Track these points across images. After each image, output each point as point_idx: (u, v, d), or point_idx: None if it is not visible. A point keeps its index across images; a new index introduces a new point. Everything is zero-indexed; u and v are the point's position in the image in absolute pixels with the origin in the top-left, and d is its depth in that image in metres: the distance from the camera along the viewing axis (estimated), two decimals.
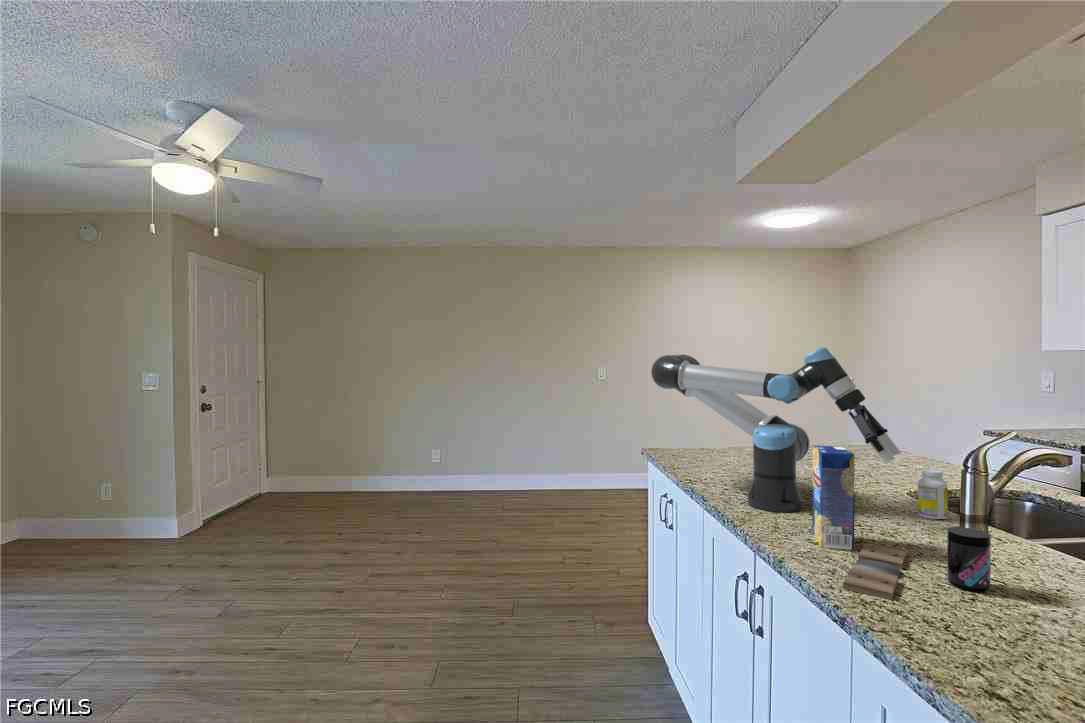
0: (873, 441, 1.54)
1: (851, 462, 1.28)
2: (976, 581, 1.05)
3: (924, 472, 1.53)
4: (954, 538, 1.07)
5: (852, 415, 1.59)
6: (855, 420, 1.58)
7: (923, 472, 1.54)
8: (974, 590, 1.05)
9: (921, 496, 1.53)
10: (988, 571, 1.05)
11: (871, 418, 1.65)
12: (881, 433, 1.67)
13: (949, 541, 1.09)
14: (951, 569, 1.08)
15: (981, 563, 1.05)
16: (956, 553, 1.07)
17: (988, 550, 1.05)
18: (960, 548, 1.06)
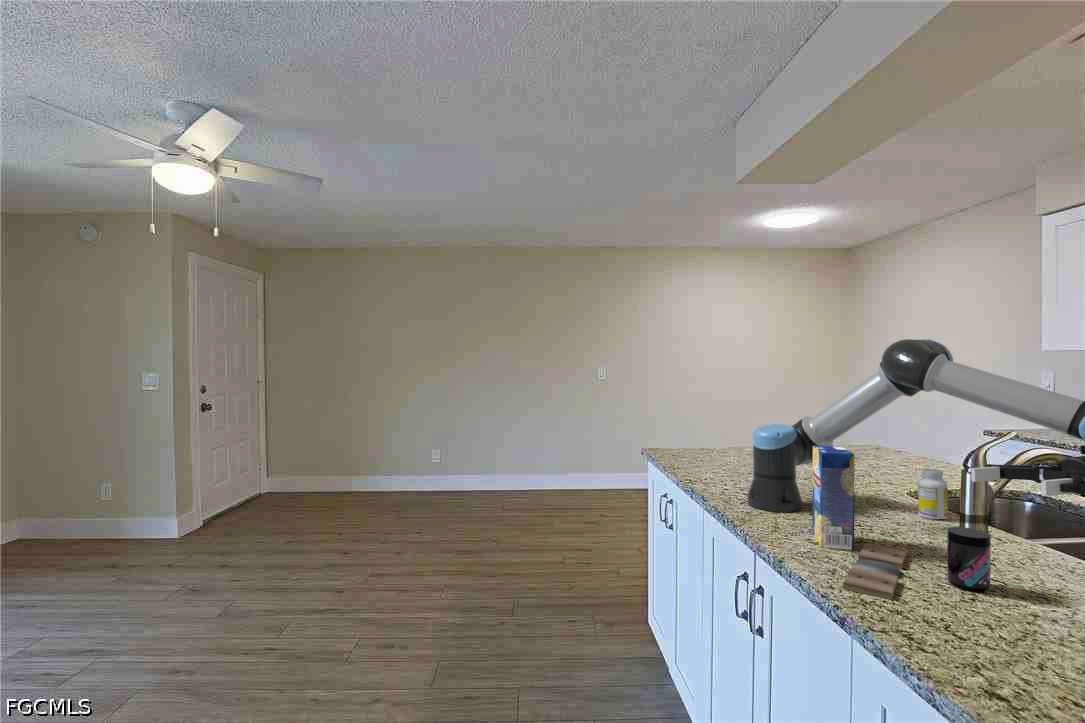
0: (1080, 486, 1.04)
1: (851, 462, 1.28)
2: (976, 581, 1.05)
3: (924, 472, 1.53)
4: (954, 538, 1.07)
5: None
6: None
7: (923, 472, 1.54)
8: (974, 590, 1.05)
9: (921, 496, 1.53)
10: (988, 571, 1.05)
11: (1038, 480, 1.16)
12: None
13: (949, 541, 1.09)
14: (951, 569, 1.08)
15: (981, 563, 1.05)
16: (956, 553, 1.07)
17: (988, 550, 1.05)
18: (960, 548, 1.06)
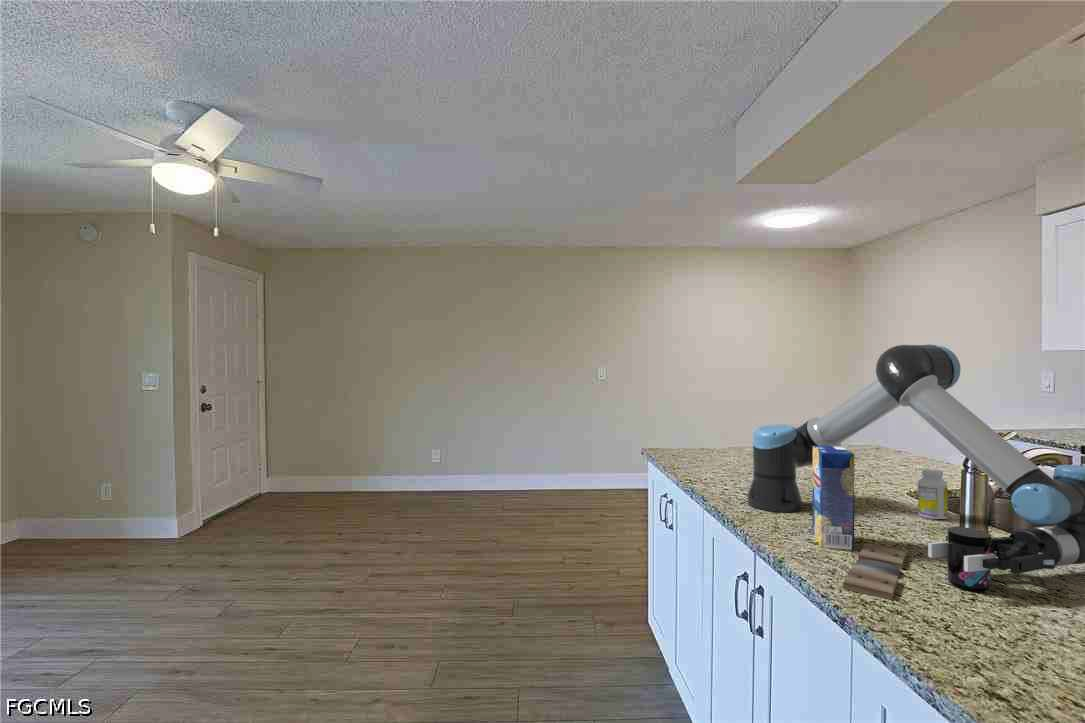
0: (1002, 563, 1.03)
1: (851, 462, 1.28)
2: (977, 580, 1.05)
3: (924, 472, 1.53)
4: (954, 537, 1.07)
5: (1048, 558, 1.04)
6: (1040, 558, 1.04)
7: (923, 472, 1.54)
8: (974, 590, 1.05)
9: (921, 496, 1.53)
10: (988, 571, 1.05)
11: None
12: None
13: (949, 541, 1.09)
14: (951, 569, 1.08)
15: None
16: (956, 553, 1.07)
17: (988, 550, 1.05)
18: (960, 548, 1.06)
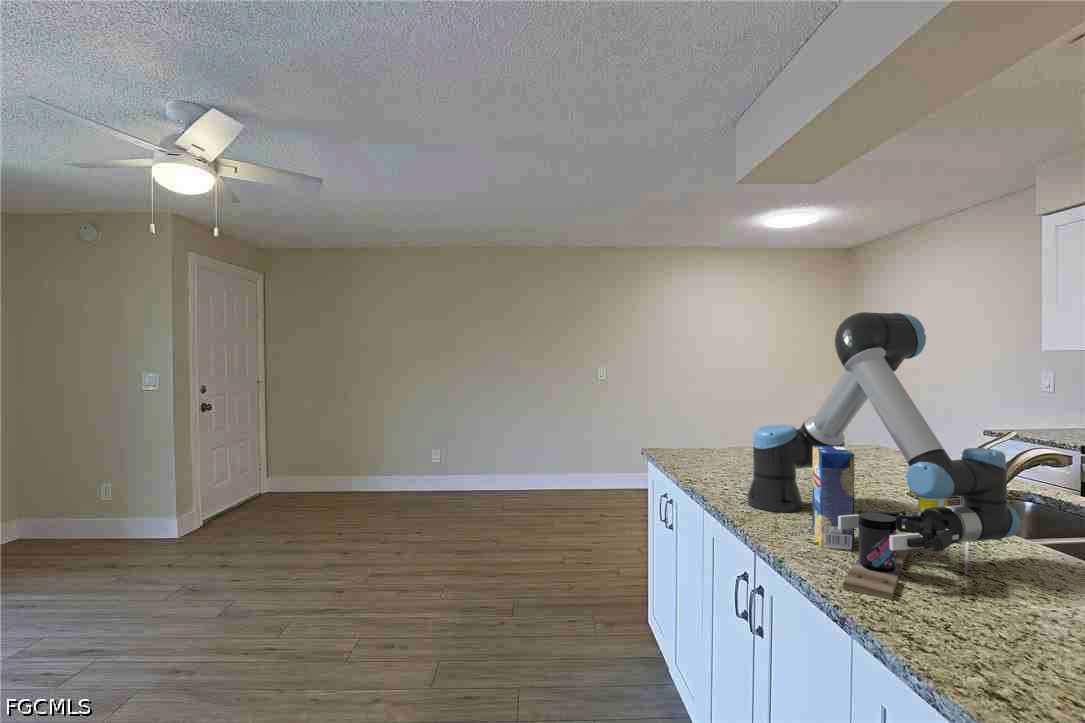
0: (926, 542, 1.08)
1: (851, 462, 1.28)
2: (882, 561, 1.12)
3: None
4: (863, 522, 1.15)
5: (955, 533, 1.11)
6: (950, 534, 1.11)
7: None
8: (880, 570, 1.13)
9: None
10: (893, 552, 1.13)
11: (900, 529, 1.20)
12: None
13: (859, 525, 1.16)
14: (861, 551, 1.16)
15: (886, 545, 1.12)
16: (865, 536, 1.15)
17: (893, 533, 1.13)
18: (868, 532, 1.14)
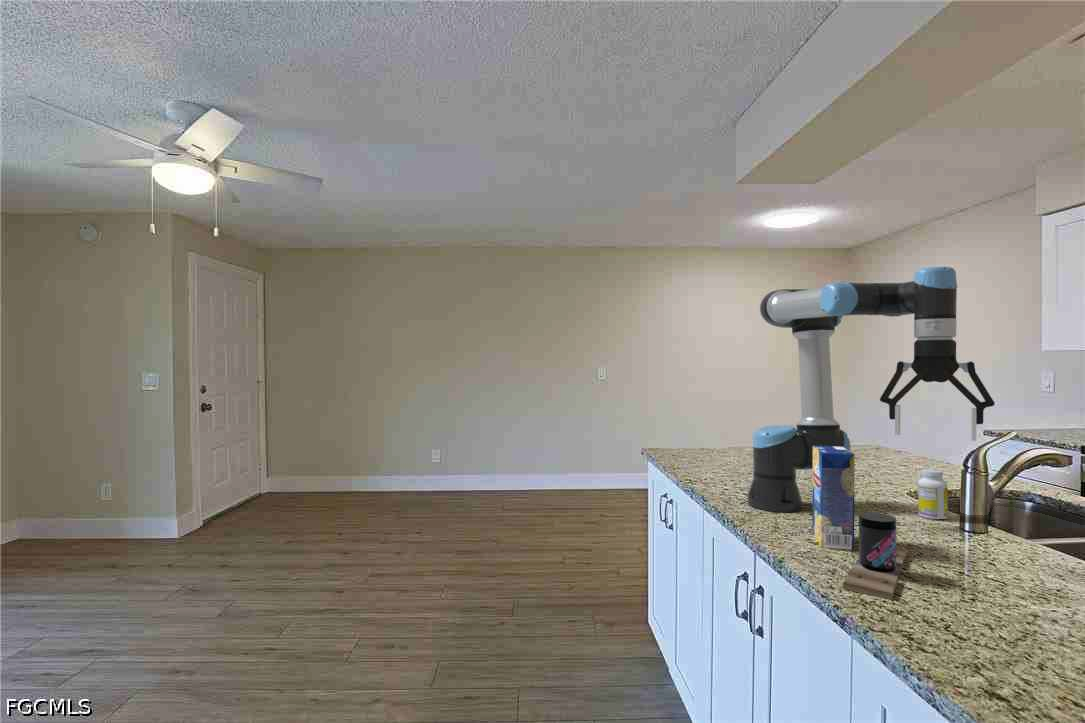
0: (889, 405, 1.27)
1: (851, 462, 1.28)
2: (882, 562, 1.12)
3: (924, 472, 1.53)
4: (863, 522, 1.15)
5: None
6: None
7: (923, 472, 1.54)
8: (880, 570, 1.13)
9: (921, 496, 1.53)
10: (893, 553, 1.13)
11: (951, 382, 1.19)
12: (976, 406, 1.17)
13: (859, 525, 1.16)
14: (861, 551, 1.16)
15: (886, 545, 1.12)
16: (865, 536, 1.15)
17: (893, 533, 1.13)
18: (868, 532, 1.14)
